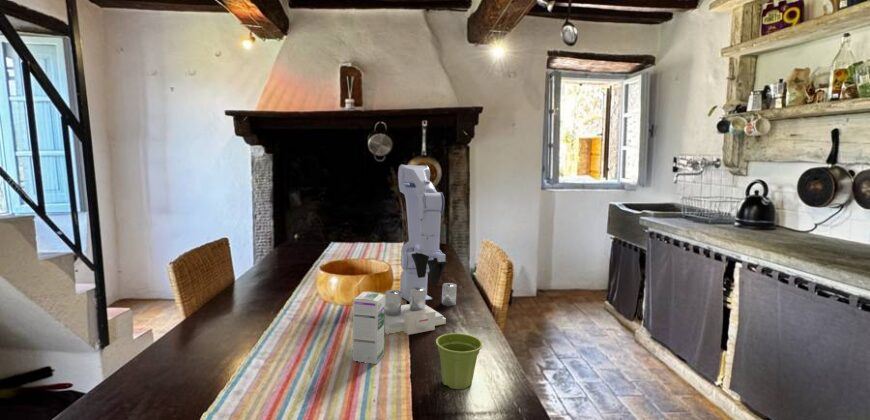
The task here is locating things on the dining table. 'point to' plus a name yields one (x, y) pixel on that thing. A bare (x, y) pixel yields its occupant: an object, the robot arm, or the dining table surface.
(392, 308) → the cylinder
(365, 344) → the syrup box
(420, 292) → the cylinder
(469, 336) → the plant pot
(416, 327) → the scale
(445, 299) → the cylinder
